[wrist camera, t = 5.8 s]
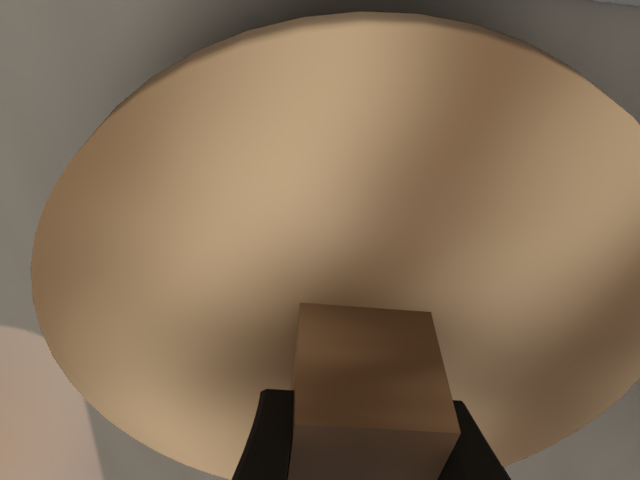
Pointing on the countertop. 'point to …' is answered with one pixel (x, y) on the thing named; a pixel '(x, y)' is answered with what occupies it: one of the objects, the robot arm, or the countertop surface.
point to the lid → (350, 248)
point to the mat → (622, 2)
